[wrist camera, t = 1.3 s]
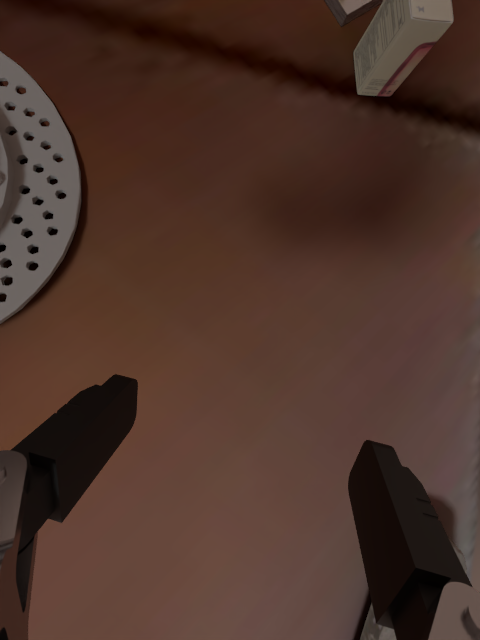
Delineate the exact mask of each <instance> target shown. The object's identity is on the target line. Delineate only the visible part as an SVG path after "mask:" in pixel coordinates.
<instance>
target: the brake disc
mask: <svg viewBox="0 0 480 640" xmlns="http://www.w3.org/2000/svg"><path fill="white" fill-rule="evenodd" d="M1 81H8V82H9V84H8V86H7V87H5V86H0V245H6V250H5V251H3V252H0V295H1V294H6V295H7V297H6V301H5V302H0V324H1V323H2V322H4V321H5V320H7V319H8V318H10V317H11V316H12V315H14V314H15V313H17V312H18V311H20V310H21V309H22V308H23V307H24V306H25V305H26V304H27V303H28V302H29V301H30V300H31V299H32V298H33V297H34V296H35V295H36V294H37V293H38V292H39V291H40V290H41V289H42V288H43V287H44V286H45V285H46V284H47V282H48V281H49V280H50V278H51V277H52V275H53V274H54V272H55V271H56V269H57V268H58V266H59V265H60V264H61V262H62V261H63V259H64V257H65V255H66V253H67V251H68V248H69V246H70V244H71V242H72V240H73V237H74V234H75V231H76V228H77V224H78V218H79V213H80V207H81V202H82V201H81V172H80V168H79V164H78V160H77V156H76V152H75V148H74V145H73V142H72V139H71V136H70V134H69V132H68V130H67V128H66V126H65V125H64V123H63V121H62V119H61V117H60V115H59V114H58V112H57V110H56V108H55V106H54V104H53V103H52V102H51V100H50V99H49V98H48V97H47V95H46V94H45V93H44V92H43V90H42V89H41V88H40V87H39V85H38V84H37V83H36V82H35V81H34V80H33V79H32V78H31V77H30V76H29V75H28V74H27V73H26V72H25V71H24V69H23V68H22V67H21V66H19V65H18V64H16V63H15V62H14V61H12V60H11V59H10V58H8V57H7V56H6V55H4V54H3V53H2V52H0V82H1ZM20 87H24V88H26V93H25V94H18V93H17V89H18V88H20ZM9 106H16V108H15V110H14V111H10V110H8V107H9ZM28 111H34V112H35V115H34V116H32V117H28V116H25V115H26V113H27V112H28ZM44 121H49V122H50V125H49V127H42V126H41V123H42V122H44ZM11 131H16V133H15V134H14V135H12V136H11V135H9V133H10V132H11ZM29 136H33V137H35V138H34V139H33V140H32V141H27V140H26V139H27V137H29ZM47 145H51V148H50V149H48V150H45V149H43V147H44V146H47ZM59 157H62V158H63V159H64V160H63V161H61V162H59V163H58V162H56V161H55V159H57V158H59ZM22 159H27V160H28V163H26V164H23V165H21V164H20V160H22ZM40 167H42V168H44V170H43V172H41V173H37V172H35V171H36V169H37V168H40ZM52 179H57V180H58V183H56V184H54V185H51V184H50V180H52ZM28 188H29V189H30V193H28V194H25V195H24V194H21V193H22V191H23V189H28ZM61 193H65V194H66V197H65V198H64V199H59V198H58V194H61ZM38 199H39V200H43V201H44V202H43V203H42V204H41V205H40V206H39V205H35V203H36V201H37V200H38ZM48 213H52V214H53V219H47V220H45V216H46V215H47V214H48ZM18 217H21V218H23V221H22V222H21V223H20V224H14V221H15V219H16V218H18ZM52 229H58V233H57V235H52V236H50V235H49V232H50V231H51V230H52ZM29 230H30V231H32V232H33V235H32V236H30V237H29V238H26V237H24V234H25V232H27V231H29ZM32 247H39V249H38V253H35V254H31V253H30V250H31V249H32ZM8 260H11V262H12V265H11V266H10V267H8V268H4V265H3V263H4V262H6V261H8ZM32 263H38V266H39V267H38V268H37V269H36V270H35V271H30V270H29V266H30V265H31V264H32ZM8 277H12V278H13V283H12V284H11V285H9V286H5V283H4V280H5V279H6V278H8Z"/></svg>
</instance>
